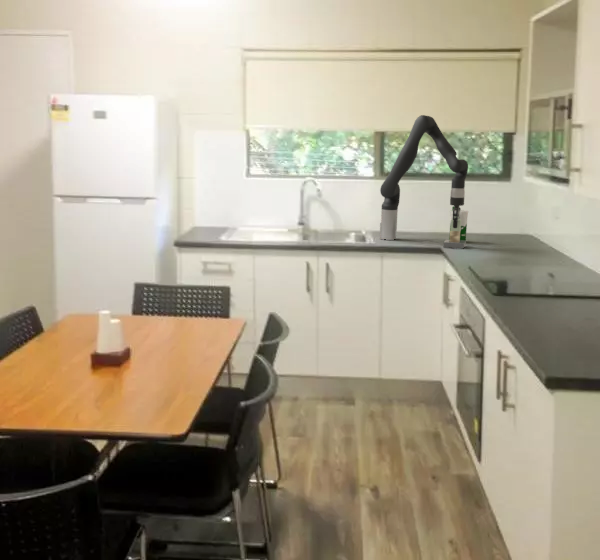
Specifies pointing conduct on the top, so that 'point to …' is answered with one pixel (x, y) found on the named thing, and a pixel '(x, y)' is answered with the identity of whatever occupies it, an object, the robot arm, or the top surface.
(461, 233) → the soya milk
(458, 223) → the sage block
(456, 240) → the maple block
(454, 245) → the slate base
